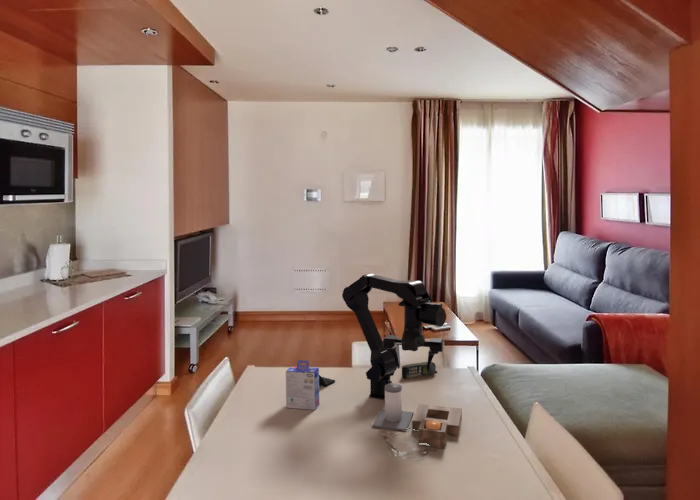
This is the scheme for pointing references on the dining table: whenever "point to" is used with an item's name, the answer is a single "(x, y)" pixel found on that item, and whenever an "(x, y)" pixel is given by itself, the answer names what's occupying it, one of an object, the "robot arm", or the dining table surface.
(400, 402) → the cylinder
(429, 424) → the release button
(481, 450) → the dining table surface
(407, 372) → the mobile phone
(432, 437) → the socket block
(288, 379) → the ink cartridge box
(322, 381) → the handheld gaming console
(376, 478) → the dining table surface
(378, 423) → the mat
